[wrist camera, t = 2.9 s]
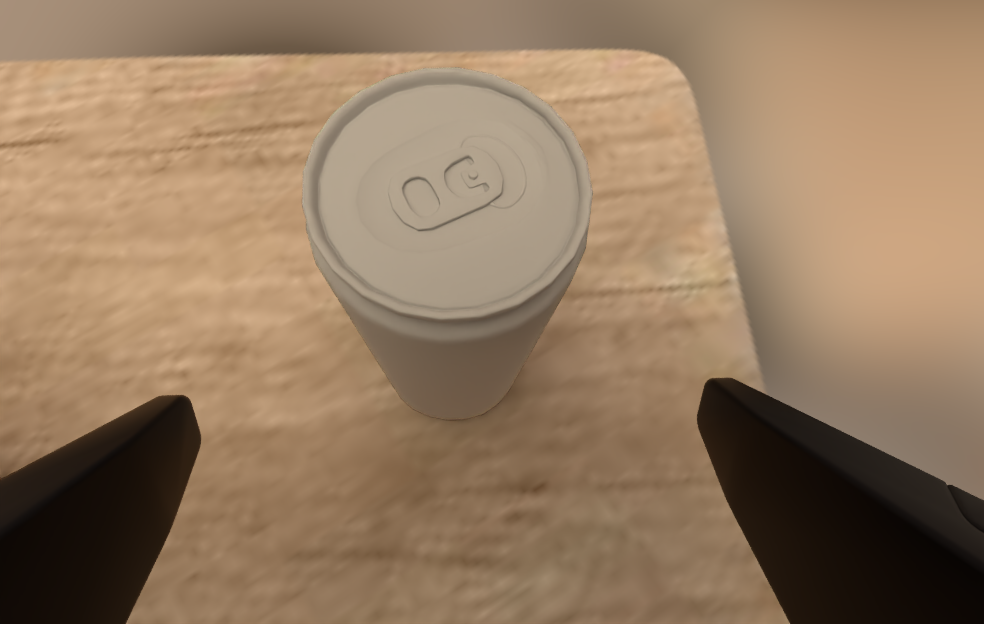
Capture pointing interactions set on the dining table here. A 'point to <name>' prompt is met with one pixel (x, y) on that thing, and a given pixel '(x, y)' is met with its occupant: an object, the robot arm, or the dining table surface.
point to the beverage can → (447, 228)
